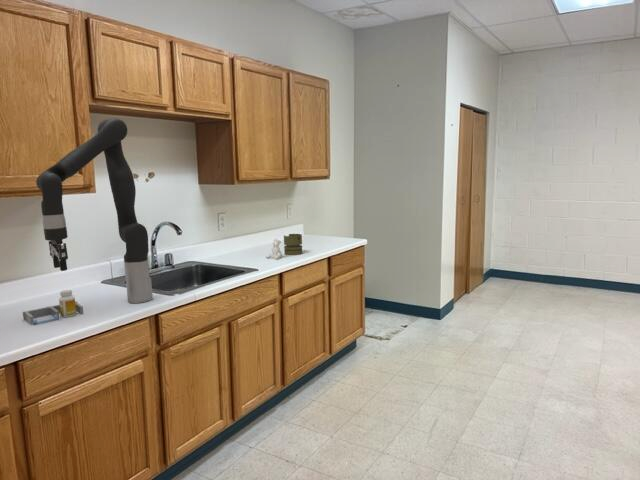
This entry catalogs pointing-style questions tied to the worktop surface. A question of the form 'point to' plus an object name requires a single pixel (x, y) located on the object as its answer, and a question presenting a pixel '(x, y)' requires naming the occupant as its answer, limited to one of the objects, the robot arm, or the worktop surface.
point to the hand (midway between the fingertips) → (60, 269)
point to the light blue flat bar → (45, 320)
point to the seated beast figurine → (275, 251)
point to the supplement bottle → (67, 304)
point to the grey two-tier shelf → (47, 312)
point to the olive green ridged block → (293, 244)
